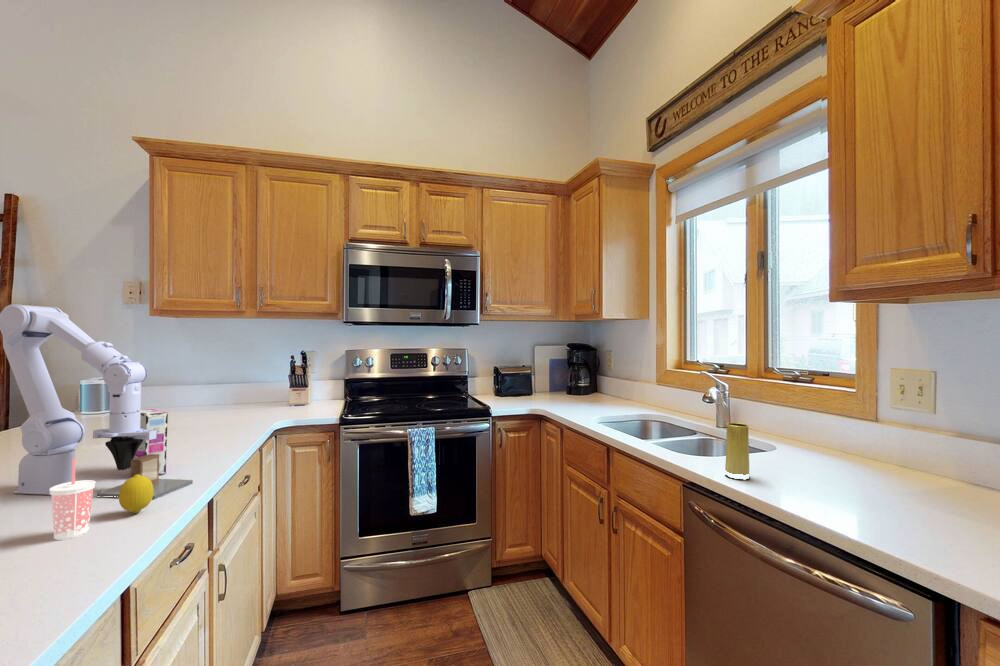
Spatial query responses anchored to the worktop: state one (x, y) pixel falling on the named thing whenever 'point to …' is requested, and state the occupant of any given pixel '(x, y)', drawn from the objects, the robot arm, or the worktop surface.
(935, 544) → the worktop surface
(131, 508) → the lemon
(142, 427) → the candy bar box
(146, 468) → the walnut slab
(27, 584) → the worktop surface
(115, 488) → the grey flat rectangular plate
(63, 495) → the beverage cup
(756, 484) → the worktop surface
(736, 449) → the vase
